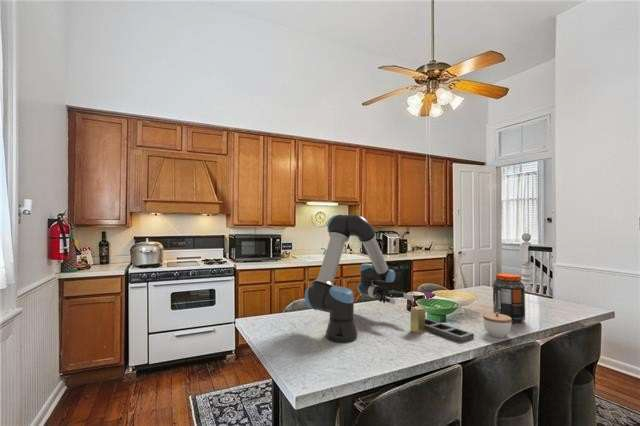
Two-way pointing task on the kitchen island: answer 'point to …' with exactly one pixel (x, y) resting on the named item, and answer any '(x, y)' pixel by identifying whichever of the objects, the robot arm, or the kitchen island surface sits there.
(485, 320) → the lidded bowl
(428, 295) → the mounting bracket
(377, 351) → the kitchen island surface
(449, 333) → the dark grey slotted tray
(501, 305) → the supplement tub
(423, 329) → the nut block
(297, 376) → the kitchen island surface
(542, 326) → the kitchen island surface
